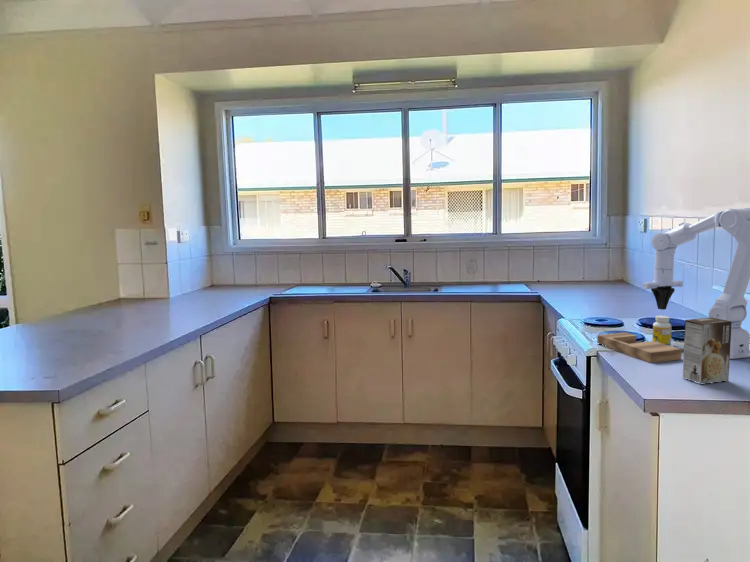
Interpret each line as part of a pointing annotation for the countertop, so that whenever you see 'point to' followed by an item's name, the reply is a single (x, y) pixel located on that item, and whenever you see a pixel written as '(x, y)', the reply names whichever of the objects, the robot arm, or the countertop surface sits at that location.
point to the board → (640, 347)
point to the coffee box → (707, 350)
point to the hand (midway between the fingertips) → (661, 309)
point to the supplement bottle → (662, 330)
